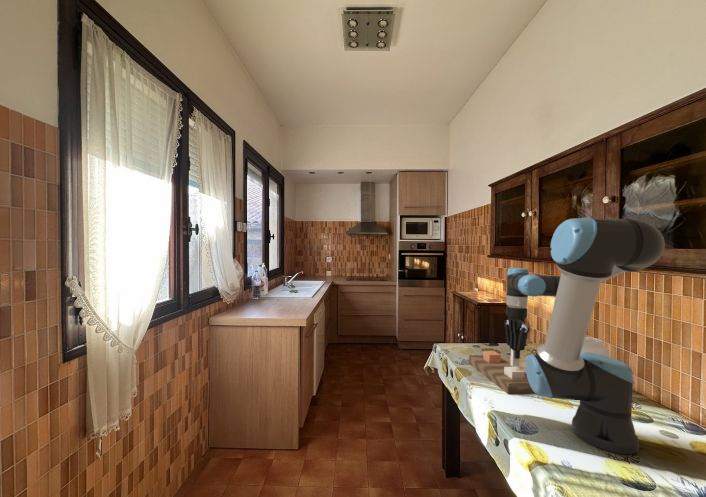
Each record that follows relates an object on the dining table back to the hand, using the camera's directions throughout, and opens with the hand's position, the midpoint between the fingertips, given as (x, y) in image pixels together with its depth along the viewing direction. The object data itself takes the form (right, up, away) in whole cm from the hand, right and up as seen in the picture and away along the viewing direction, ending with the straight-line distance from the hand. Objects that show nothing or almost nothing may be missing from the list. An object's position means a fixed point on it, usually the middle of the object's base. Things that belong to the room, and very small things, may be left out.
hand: (514, 365), depth 123 cm
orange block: (-2, -5, +16) cm, 17 cm away
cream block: (0, -6, 0) cm, 6 cm away
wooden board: (-1, -8, +8) cm, 12 cm away
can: (+29, -9, 0) cm, 30 cm away
